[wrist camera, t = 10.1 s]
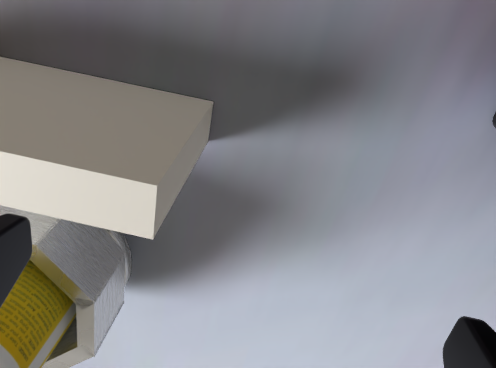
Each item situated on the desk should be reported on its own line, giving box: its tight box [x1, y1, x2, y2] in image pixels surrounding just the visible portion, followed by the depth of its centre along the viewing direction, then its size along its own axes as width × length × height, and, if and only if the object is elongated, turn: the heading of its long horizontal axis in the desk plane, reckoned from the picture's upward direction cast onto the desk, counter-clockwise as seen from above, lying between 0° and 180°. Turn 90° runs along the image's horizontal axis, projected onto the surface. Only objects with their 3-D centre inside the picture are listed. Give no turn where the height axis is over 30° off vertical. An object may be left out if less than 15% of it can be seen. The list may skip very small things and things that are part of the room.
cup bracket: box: [0, 205, 132, 368], centre depth 21 cm, size 8×11×4 cm
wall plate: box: [0, 57, 213, 240], centre depth 17 cm, size 14×2×8 cm, turn 80°
